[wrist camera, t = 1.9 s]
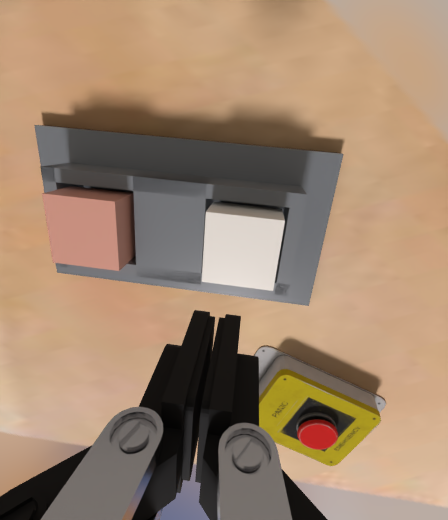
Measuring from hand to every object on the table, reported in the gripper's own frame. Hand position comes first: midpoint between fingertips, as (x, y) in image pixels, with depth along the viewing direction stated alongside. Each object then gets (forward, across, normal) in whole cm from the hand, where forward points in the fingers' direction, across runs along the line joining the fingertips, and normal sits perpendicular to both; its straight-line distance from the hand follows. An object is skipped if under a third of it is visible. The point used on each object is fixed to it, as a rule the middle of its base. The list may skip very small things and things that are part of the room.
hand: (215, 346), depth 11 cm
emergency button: (+17, -9, +19) cm, 27 cm away
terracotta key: (+13, +11, 0) cm, 17 cm away
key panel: (+16, +5, 0) cm, 17 cm away
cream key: (+13, 0, 0) cm, 13 cm away
